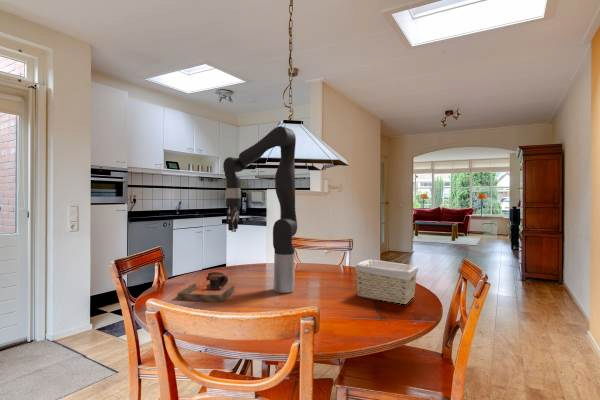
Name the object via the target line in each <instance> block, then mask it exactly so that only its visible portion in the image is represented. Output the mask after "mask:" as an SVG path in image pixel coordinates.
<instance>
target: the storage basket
mask: <svg viewBox="0 0 600 400" xmlns="http://www.w3.org/2000/svg"><path fill="white" fill-rule="evenodd" d="M355 271H356V290H357V296H358V297H362V298H367V299H371V300H378V301H380V300H382V302H384V301H388V302H387V303H389V302H390V303H391V302H394V303H393V304H396V303H400V304H399V305H401V304H407V303H408V302H409V301H410V300H411V298H413V297H415V290H416V284H417V282H416V281H417V274H418V271H419V267H418V265H411V264H406V263H400V262H393V261H385V260H378V259H367V260H363V261H361V262H358V263H356V264H355ZM413 299H414V298H413ZM411 301H412V300H411ZM411 301H410V302H411ZM410 302H409V303H410ZM409 303H408V304H409ZM408 304H407V305H408Z"/></svg>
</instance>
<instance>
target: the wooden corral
mask: <svg viewBox="0 0 600 400" xmlns="http://www.w3.org/2000/svg"><path fill="white" fill-rule="evenodd" d="M196 290H197V283H192V284H191V285H189V286H188V287H186V288H184V289H182V290H181V291H179V292H177V300H179V299H184V300H183V301H195V300H199V301H198V302H210V303H211V302H212V303H213V302H214V303H223V302H224V301H225V300H227V299H228V297H230V296H231V295H232V294H233V293H234V292H235V285H232V286H230V287H229V288H228V289H227V290H225V291H224V292H223V293H221V294H208V293H207V294H206V293H205V294H204V293H192V292H194V291H196Z"/></svg>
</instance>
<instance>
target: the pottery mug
mask: <svg viewBox="0 0 600 400" xmlns="http://www.w3.org/2000/svg"><path fill="white" fill-rule="evenodd" d="M207 275H208V276H206V277H205V280H206V282H207V281H209V284H207V285H206V290H220V288H224V286H225V285H227V283H228V281H229V278H228V276H227V275H225V274H224V273H223V272H218V271H214V272H213V271H212V272H208V273H207Z"/></svg>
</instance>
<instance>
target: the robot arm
mask: <svg viewBox="0 0 600 400" xmlns="http://www.w3.org/2000/svg"><path fill="white" fill-rule="evenodd" d="M296 140H297V138H296V134H295V131H294V130H292V129H291V128H289V127H286V126H283V125H282V126H281V125H278V126H276V127H275V128H273V129H272V130H270V131H269V132H267V134H266V135H265V136H263V137H262V138H261V139H259V141H257V142H256V143H255V144H253V145H251V146H249V147H248V148H246V149H244V150H242V151H241V152H239V154H238V157H237V158H236V157H232V156H228V157H227V158H225V160H224V161H223V164H222V165H223V167H222V168H223V171H224V176H225V179H226V183H225V184H226V185H225V186H226V187H225V188H226V189H225V207H226V208H229V209H226V223H227V224H228V228H227V229H228V231H233V230H237V229H238V228H239V223H238V222H239V221H240V207H241V206H242V191H241V178H240V177H239V176H237V175H236V173H239V172H242V171H243V170H245V169H246V168H247V167H248V166H249V165H251V164H252V163H254V162H256V161H258V160H259V159H260V158H262V156H263V155H264V154H265V153H266V152H267V151H269V150H270V149H274V148H276V147H279V148H280V161H279V164H278V166H277V168H276V169H277V170H276V172H275V174H274V175H275V176H274V177H275V178H274V183H275V184H274V188H275V194H276V197H277V199H278V203H279V206H280V218H278V219H277V220H275V222H274V224H273V227H272V246H273V250H274V251H273V252H274V253H273V254H274V255H273V257H274V258H273V259H274V260H273V292H275V293H280V294H281V293H282V294H286V293H293V292H294V290H295V271H296V269H295V246H293V243H292V239H293V237H294V236H295V235H296V234H297V231H298V221H297V213H296V176H295V175H296V174H295V172H296V170H295V169H296V167H295V163H296V162H295V159H296V158H295V154H296V144H297V143H296V142H297V141H296Z"/></svg>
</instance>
